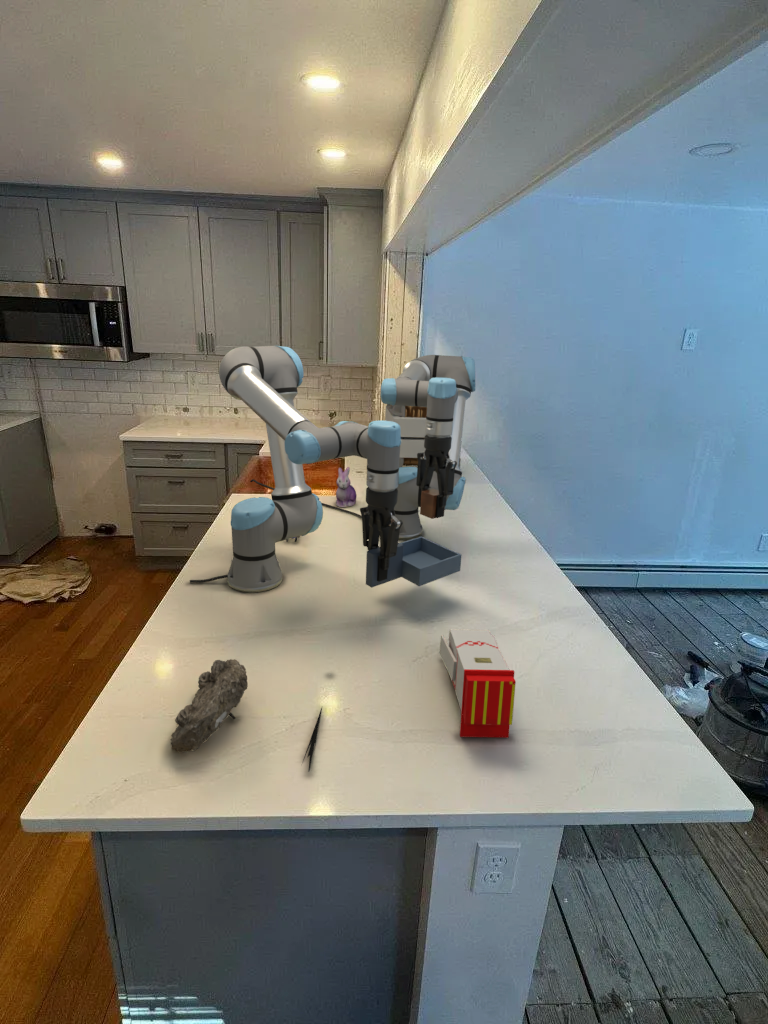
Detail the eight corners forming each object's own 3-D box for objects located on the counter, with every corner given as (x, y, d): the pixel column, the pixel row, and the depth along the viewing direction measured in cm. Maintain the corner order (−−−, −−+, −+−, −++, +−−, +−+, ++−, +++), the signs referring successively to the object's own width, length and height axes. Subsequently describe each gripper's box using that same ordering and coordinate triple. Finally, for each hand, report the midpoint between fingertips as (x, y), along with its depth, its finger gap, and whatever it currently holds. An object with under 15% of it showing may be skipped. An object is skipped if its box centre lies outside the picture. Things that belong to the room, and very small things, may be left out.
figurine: (339, 509, 221) (340, 472, 216) (329, 501, 229) (330, 465, 224) (361, 506, 225) (362, 470, 220) (351, 498, 234) (352, 463, 228)
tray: (349, 574, 146) (350, 542, 142) (420, 551, 161) (422, 522, 158) (388, 598, 135) (390, 563, 132) (460, 571, 151) (463, 539, 147)
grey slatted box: (381, 463, 289) (385, 382, 275) (444, 464, 292) (450, 384, 279) (389, 482, 257) (393, 392, 243) (459, 483, 261) (467, 394, 247)
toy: (489, 613, 130) (525, 677, 101) (485, 667, 133) (518, 744, 104) (437, 612, 130) (457, 676, 101) (434, 666, 133) (453, 743, 103)
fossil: (195, 660, 117) (247, 628, 112) (227, 691, 120) (279, 661, 115) (146, 746, 98) (206, 711, 93) (185, 779, 101) (245, 748, 96)
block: (419, 514, 165) (421, 491, 163) (431, 511, 168) (433, 488, 166) (431, 519, 162) (433, 495, 159) (444, 515, 165) (446, 492, 162)
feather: (331, 679, 122) (336, 673, 122) (307, 777, 96) (313, 769, 95) (324, 675, 122) (329, 669, 121) (298, 772, 95) (304, 764, 95)
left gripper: (349, 482, 137) (347, 570, 145) (391, 499, 126) (387, 593, 134) (373, 477, 141) (370, 562, 149) (416, 493, 130) (410, 585, 138)
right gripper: (406, 430, 161) (401, 507, 169) (453, 442, 148) (445, 525, 156) (425, 428, 166) (420, 503, 174) (471, 439, 153) (464, 520, 161)
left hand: (378, 577), depth 142 cm, fingers closed on tray, 2 cm apart
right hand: (432, 513), depth 165 cm, fingers closed on block, 5 cm apart
